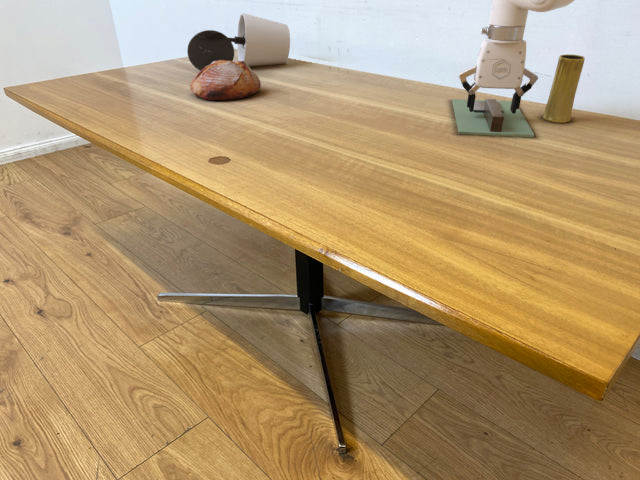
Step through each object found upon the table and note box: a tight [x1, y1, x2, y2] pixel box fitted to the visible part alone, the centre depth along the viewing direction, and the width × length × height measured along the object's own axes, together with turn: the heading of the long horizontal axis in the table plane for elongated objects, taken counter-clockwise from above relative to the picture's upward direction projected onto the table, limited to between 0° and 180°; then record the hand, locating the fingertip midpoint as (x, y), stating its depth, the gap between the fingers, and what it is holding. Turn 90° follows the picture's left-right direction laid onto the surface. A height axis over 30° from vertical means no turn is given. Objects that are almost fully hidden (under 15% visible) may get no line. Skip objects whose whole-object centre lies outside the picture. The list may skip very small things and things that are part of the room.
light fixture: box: [186, 12, 291, 72], centre depth 163 cm, size 17×19×34 cm
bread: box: [189, 60, 262, 102], centre depth 136 cm, size 16×20×10 cm
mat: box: [451, 98, 536, 138], centre depth 117 cm, size 16×26×1 cm, turn 170°
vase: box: [542, 54, 586, 124], centre depth 112 cm, size 6×6×14 cm
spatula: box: [473, 98, 504, 132], centre depth 115 cm, size 22×7×3 cm, turn 170°
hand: (491, 111), depth 115 cm, fingers open, 9 cm apart
